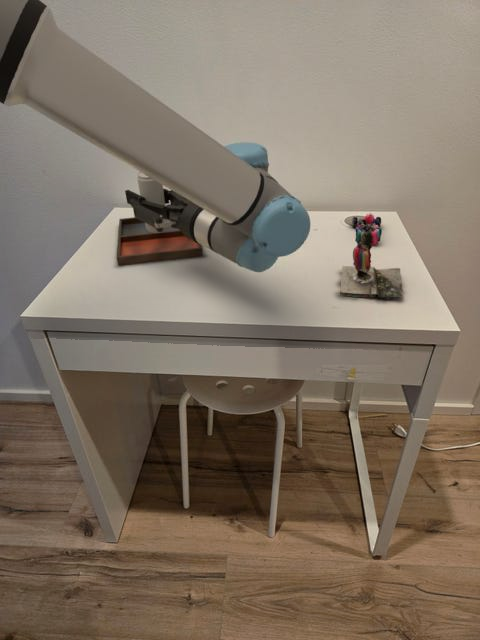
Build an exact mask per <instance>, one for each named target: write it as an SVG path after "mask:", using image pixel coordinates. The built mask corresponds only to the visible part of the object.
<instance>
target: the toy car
mask: <svg viewBox="0 0 480 640" xmlns="http://www.w3.org/2000/svg"><path fill="white" fill-rule="evenodd" d="M373 223H375V224H376V225H377V226H379V228H380V227H381V224H382V217H381V216H376V217H375V218H374V221H373ZM373 223H372V224H373ZM362 224H364V225H366V224H367V223H366V221H365V217H364V218H359V220H358V216H353V217H352V219H351V227H352V228H356V227H358V225H362ZM372 224H371V226H372Z"/></svg>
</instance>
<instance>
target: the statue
mask: <svg viewBox="0 0 480 640" xmlns="http://www.w3.org/2000/svg"><path fill="white" fill-rule="evenodd" d="M364 218H365V221H366V223H367V224H366V225H364V224H362V225H357V227H355V240H354V241H355V243H356V244H357V245H356V246H354V248H353V250H352V260H353V263H352V265H353V266H350V265H342V267H341V279H340V289H339V296H340V297H342V296H344V297H353V298H357V297H360V298H375V297H376V295H377V297H378V300H379V301H382V300H389V299H392V298H396V299H399V298H403V297H404V293H403V284H402V274H401V268H399V267H396V268H395V267H393V268H379V269H377V268H376V267H375V266H372V260H371V259H372V253H371V250H372V248H373V246H375V245H377V244H378V243H380V242H381V235H382V233H383V231H382V229H381V228H380V227H379V226H377V225H376V224H375V223H373V221H374V219H375V215H374V214H373V213H372V212H369V213H367V214H366V215H365V216H364ZM372 223H373V224H372ZM371 224H372V226H371Z"/></svg>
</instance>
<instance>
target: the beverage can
mask: <svg viewBox="0 0 480 640" xmlns="http://www.w3.org/2000/svg"><path fill="white" fill-rule="evenodd" d="M136 179H137V184H138V185H137V186H138V190H139V195H140V196H142V197H144V198H145V200H146V201H148V202H152V203H156V204H160V205H164V206H166V204H165V198H164V191H163V189H164V185H162V184H160V183H159V182H157V181H155V180H153V179H152V178H150V177H148V176H147V175H145V174H143V173H142V172H140V171H138V173H137V178H136ZM145 225H146V229H147V230H148V231H149V232H152V233H160V232H157V231H156V229H155V228H154V227H152V226H150V225H149V224H147V223H145ZM167 227H168V226H167ZM167 227H164V228H163V231H165V230H166V229H167ZM163 231H162V232H163Z"/></svg>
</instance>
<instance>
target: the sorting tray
mask: <svg viewBox="0 0 480 640" xmlns="http://www.w3.org/2000/svg"><path fill="white" fill-rule="evenodd" d="M116 247H117V248H116V261H117V265H118V266H126V265H127V266H128V265H135V264H144V263H152V262H153V263H154V262H163V261H172V260H178V259H179V260H180V259H189V258H197V257H198V258H199V257H204V253H203V252H204V251H203V246H202V245H200V244H198V243H196V242H194V241H192V240H190V239H188V238H187V237H185V236H184V235H183V233H182V232H181V231H180V230H179V229H176V228H172V227H171V226H168V227H167V229H166V230H165V231H163V232H160V233H152V232H149V231H148V230H147V229H146V225H145V222H143V221H141V220H139V219H137V218H135V216H134V217H126V218H119V221H118V231H117V246H116Z"/></svg>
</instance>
